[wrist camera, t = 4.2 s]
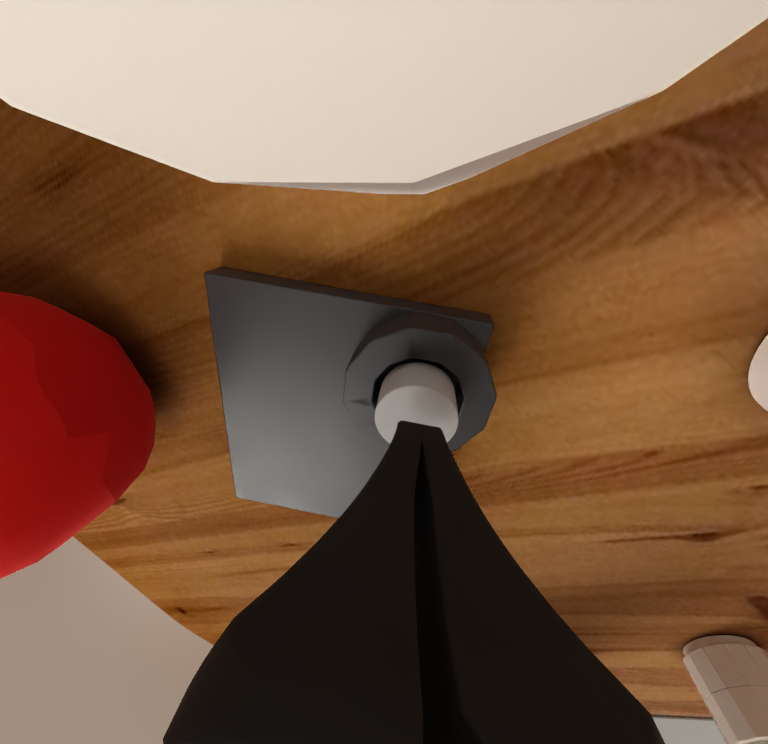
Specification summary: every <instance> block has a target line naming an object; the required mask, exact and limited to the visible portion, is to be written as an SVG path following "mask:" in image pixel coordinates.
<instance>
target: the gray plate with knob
mask: <svg viewBox="0 0 768 744" xmlns="http://www.w3.org/2000/svg"><path fill="white" fill-rule="evenodd" d="M204 275H205V282H206V289H207V296H208V304H209V311H210V318H211V325H212V332H213V339H214V346H215V353H216V360H217V367H218V374H219V382H220V389H221V396H222V403H223V410H224V417H225V424H226V431H227V438H228V445H229V452H230V459H231V467H232V474H233V481H234V488H235V495H236V497H238V498H243V499H248V500H252V501H257V502H262V503H267V504H272V505H277V506H282V507H287V508H291V509H296V510H301V511H306V512H311V513H316V514H321V515H326V516H331V517H335V518H340V516H341V515H342V514H343V513H344V512H345V511H346V509H347V508H348V507H349V506H350V504H351V503H352V502H353V501H354V499H355V498H356V497H357V496H358V494H359V493H360V492H361V490H362V489H363V487H364V486H365V485H366V483H367V482H368V480H369V479H370V477H371V476H372V474H373V473H374V471H375V470H376V468H377V467H378V465H379V464H380V462H381V460H382V458H383V457H384V455H385V453H386V451H387V450H388V448H389V446H390V443H388V442H387V441H386V440H385V439H384V438H383V437H382V436H381V434H380V433H379V431H378V429H377V427H376V424H375V417H374V416H375V410H376V405H377V401H378V397H379V393H380V389H381V385H382V383H383V380H384V379H385V377H386V376H387V375H388V373H390V372H391V371H392V370H393V369H395V368H396V367H398V366H400V365H403V364H406V363H412V362H421V363H427V364H431V365H433V366H436V367H437V368H439V369H441V370H442V371H443V372H445V373H446V374H447V375H448V377H449V378H450V379H451V381H452V383H453V385H454V389H455V396H456V403H457V410H458V419H459V420H458V427H457V430H456V432H455V434H454V435H453V437H452V438H451V439H450V440H449V441H448V442H447V444H448V446H449V448H450V451H451V452H452V450H456V449H458V448H460V447H461V446H462V445H463V444H465V443H466V442H467V441H469V440H470V439H471V438H473V437H474V436H475V435H477V434H478V433H479V432H481V431H482V430H483V429H484V428H485V426H486V423H487V421H488V418H489V416H490V413H491V410H492V408H493V405H494V403H495V400H496V395H497V394H496V390H495V387H494V383H493V379H492V376H491V372H490V368H489V365H488V362H487V359H486V356H485V352H486V349H487V346H488V343H489V340H490V337H491V334H492V331H493V329H494V326H495V324H494V322H493V320H492V318H491V316H490V315H488V314H482V313H476V312H471V311H465V310H460V309H454V308H448V307H443V306H437V305H431V304H426V303H420V302H414V301H409V300H403V299H398V298H392V297H386V296H381V295H375V294H369V293H364V292H358V291H352V290H347V289H341V288H336V287H330V286H324V285H319V284H313V283H307V282H302V281H296V280H291V279H285V278H279V277H274V276H268V275H262V274H257V273H251V272H245V271H240V270H234V269H229V268H223V267H219V268H216V269H214V270H211V271H208V272H205V273H204Z"/></svg>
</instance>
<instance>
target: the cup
mask: <svg viewBox="0 0 768 744" xmlns="http://www.w3.org/2000/svg"><path fill="white" fill-rule="evenodd" d="M748 383H749V388H750V392H751V394H752V396H753V398H754V399H755V400H756V402H757V403H758V404H759V405H760V406H762V407H763V408H764V409H765V410H766V411H767V412H768V335H767V336H766V338H765V339H764V340H763V342H762V343H761V344H760V346H759V348H758V349H757V351H756V353H755V355H754V357H753V359H752V362H751V365H750V368H749V374H748Z"/></svg>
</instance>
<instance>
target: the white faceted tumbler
mask: <svg viewBox="0 0 768 744" xmlns="http://www.w3.org/2000/svg"><path fill="white" fill-rule="evenodd" d="M683 654H684V656H685V657H684V658H683V663H684V666H685V668H686V670H687V672H688V674H689V676H690V677H691V679H692V681H693V683H694V685H695V687H696V688H697V690H698V692H699V694H700V696H701V698H702V699H703V701H704V703H705V705H706V706H707V709H708V710H709V712H710V714H711V716H712V718H713V720H714V721H715V723H716V725H717V727H718V729H719V731H720V732H721V734H722V736H723V738H724V740H725V742H726V743H727V744H768V652H767V651H765V650H763V649H762V648H760V647H757V646H756V644H755V643H754V642H752V641H751V640H749V639H746V638H743V637H739V636H731V635H715V636H707V637H703V638H699V639H696V640H693V641H691V642H689V643H688V644H686V645H685V646H684V648H683Z"/></svg>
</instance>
